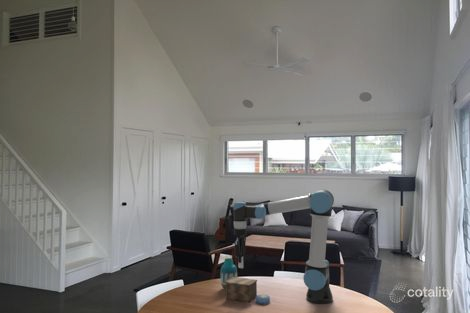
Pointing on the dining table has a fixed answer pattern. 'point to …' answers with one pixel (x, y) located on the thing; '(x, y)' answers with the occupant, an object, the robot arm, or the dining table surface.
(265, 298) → the blue beige round disc
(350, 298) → the dining table surface
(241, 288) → the box
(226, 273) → the vase
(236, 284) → the lid
